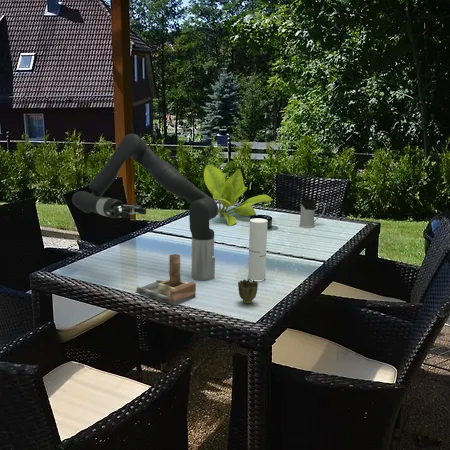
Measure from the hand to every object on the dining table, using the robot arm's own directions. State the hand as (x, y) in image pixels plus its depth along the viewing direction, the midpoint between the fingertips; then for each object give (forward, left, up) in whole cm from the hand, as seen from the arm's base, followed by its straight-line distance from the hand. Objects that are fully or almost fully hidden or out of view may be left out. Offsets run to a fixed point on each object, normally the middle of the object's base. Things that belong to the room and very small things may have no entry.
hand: (137, 213), depth 219 cm
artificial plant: (-60, -101, -29) cm, 122 cm away
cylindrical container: (-48, +1, -29) cm, 57 cm away
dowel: (-13, +17, -26) cm, 34 cm away
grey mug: (-101, -79, -29) cm, 132 cm away
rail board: (-9, +13, -29) cm, 33 cm away
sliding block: (-12, +17, -27) cm, 34 cm away
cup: (-38, +26, -29) cm, 55 cm away
